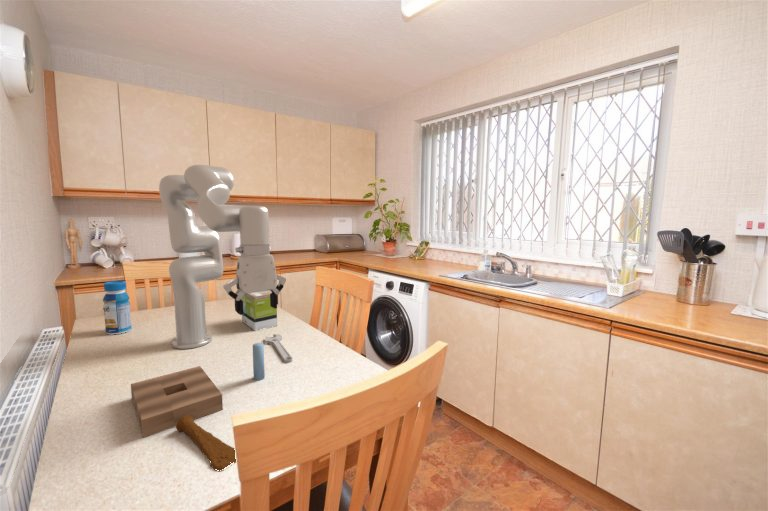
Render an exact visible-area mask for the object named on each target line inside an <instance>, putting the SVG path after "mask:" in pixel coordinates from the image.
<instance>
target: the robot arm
mask: <svg viewBox="0 0 768 511" xmlns="http://www.w3.org/2000/svg"><path fill="white" fill-rule="evenodd" d="M234 184H235V179H234V176H233V174H232V173H231V171H230V170H229V169H227V168H226V167H222V166H214V165H205V164H193V165H191V166H188V167H187V168H186V169H185V170H184V173H183V174H168V175H165V176H163V177H162V178H161V179H160V181H159V185H158V191H159V192H158V193H159V198H160V199H161V200H160V201H161V203H162V205H163V207H164V209H165V213H166V214H167V215H166V216H167V222H168V223H167V224H168V231H169V232H168V233H169V238H170V245H171V248H172V250H173V252H175V253H178V254H193V253H204V255H193V256H185V257H184V256H183V257H179V258H175V259H174V260H172V261H171V262H170V263H169V267H168V272H169V277H170V281H171V284H172V291H173V300H174V302H173V303H174V315H175V316H174V318H175V333H176V334H175V335H176V338H175V339H173V340H172V342H171V345H172V347H173V348H174V349H177V350H178V349H179V350H181V349H182V350H183V349H185V350H187V349H195V348H199V347H202V346H205V345H208V344H209V343H210V342H211V341H212V336H211V335H210V334H208V333H207V320H206V303H205V302H206V300H205V299H206V298H205V292H204V291H203V290H202V289H201V288H200V287H199V286H198V285H197V284H198V283H203V282H209V281H215V280H219V279H220V278H222V277H223V274H224V261H223V258H224V257H223V253H222V252H223V251H222V250H223V249H222V241H221V236H220V233H226V232H227V233H228V232H229V233H232V232H239V240H240V241H239V242H240V244H239V246H238V247H235V249H234V250H235V253H239V254H240V255H238V257H237V263H236V273H235V274H236V276H235V278H233V279H231V280H230V281H228V282H227V283H225V284H223V286H222V287H223V289H224V290H225V292H226V293H227V295H228V296H229V297H231V298H232V299H234V310H235V312H236V313H237V314H238V315H240V316H242V315H243V301H242V300H241V298H242V297H243V295H244V294H245V293H255V292H262V291H268V290H270V291H271V292H272V293H270V306H271V307H273V308H275V309H276V308H277V309H278V305H279V295H280V292H281V291H282V290H283V288H284V285H285V284H286V281H287V278H286V277H283V276H281V275H279V274H277V268H276V264H275V263H276V262H275V258H274V255H273V254H270V253H271V251H270V222H269V220H270V219H269V209H268V208H267V207H266V206H263V205H245V204H243V205H240V204H239V205H237V204H227V202H228V201H229V200H230V196H231V191H232V189H233V188H234ZM186 201H196V202H197V203H196V207H197V213H198V216H199V218H200V220H201V221H202V222H203V223H204V224H205V225H206V226H205V225H200V226H199V225H197V220H196V219H197V218H196V214H195V211H194V210H193V208H192V207H191V206H190V205H189V204H188V203H187V202H186ZM234 286H236V287H235V288H236V289H237V290H236V291H233V289H232V287H234Z"/></svg>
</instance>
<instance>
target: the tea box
mask: <svg viewBox="0 0 768 511" xmlns="http://www.w3.org/2000/svg"><path fill="white" fill-rule="evenodd" d="M270 293H272V292H271V291H270V290H268V291H262V292H255V293H245V294H244V295H243V297H242V298H241V300H242V301H243V315H241V320H242V321H241V322H242V323H244V324H246V325H247V326H248V327H249V328H251V329H253V331H256V330H257V331H261V330H260V329H262V330H264V329H263V328H266V329H269V328H268V327H270V328H273V327H272V326H274V327H276V326H278V307H277V308H276V309H275V308H273V307H271V306H270Z"/></svg>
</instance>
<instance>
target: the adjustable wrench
mask: <svg viewBox="0 0 768 511" xmlns="http://www.w3.org/2000/svg"><path fill="white" fill-rule="evenodd" d="M272 336H273V337H270V336H265V337H264V345H265V344H266V345H272V346H273V347H274V346H275V347H274V348H275V349H276V351H277V353H278V354H279V356H280V358H281V359H282V361H283V362H284V363H286V364H289V363H292V362H293V356H292V355H291V353H289V351H288V350H287V349H286V348H285V346H284V344H282V342H280V341H283V338H282V337H283V336H282V334H280V333H279V334H278V333H273V335H272Z"/></svg>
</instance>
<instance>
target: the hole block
mask: <svg viewBox="0 0 768 511" xmlns="http://www.w3.org/2000/svg"><path fill="white" fill-rule="evenodd" d="M130 390H131V391H130V393H131V401H132V403H133V407H134V411H135V414H136V418H137V421H138V425H139V427H140V431H141V435H142V438H146V437H148V436H151V435H152V436H153V435H155V434H157V433H160V432H162V431H165V430H169V429H171V428H174V427H175V428H176V426H177V423H178V422H179V420H180V419H181V418H182V417H184V416H188V415H189V416H192V417H193V421H194V420H198V419H199V418H203V417H206V416H209V415H211V414H214V413H217V412H220V411H223V410H224V408H223V407H224V406H223V393H222V392H221V391H220V389H219V388H218V387H217V386H216V384H215V383H214V382H213V381H212V379H211V378H210V376H208V374H207V373H206V372H205V370H204V369H203V368H202V366H200V365H198V366H194V367H191V368H187V369H184V370H180V371H176V372H172V373H171V372H170V373H168V374H164V375H161V376H155V377H153V378H149V379H145V380H142V381H138V382H134V383H133V382H132V383H130Z"/></svg>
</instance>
